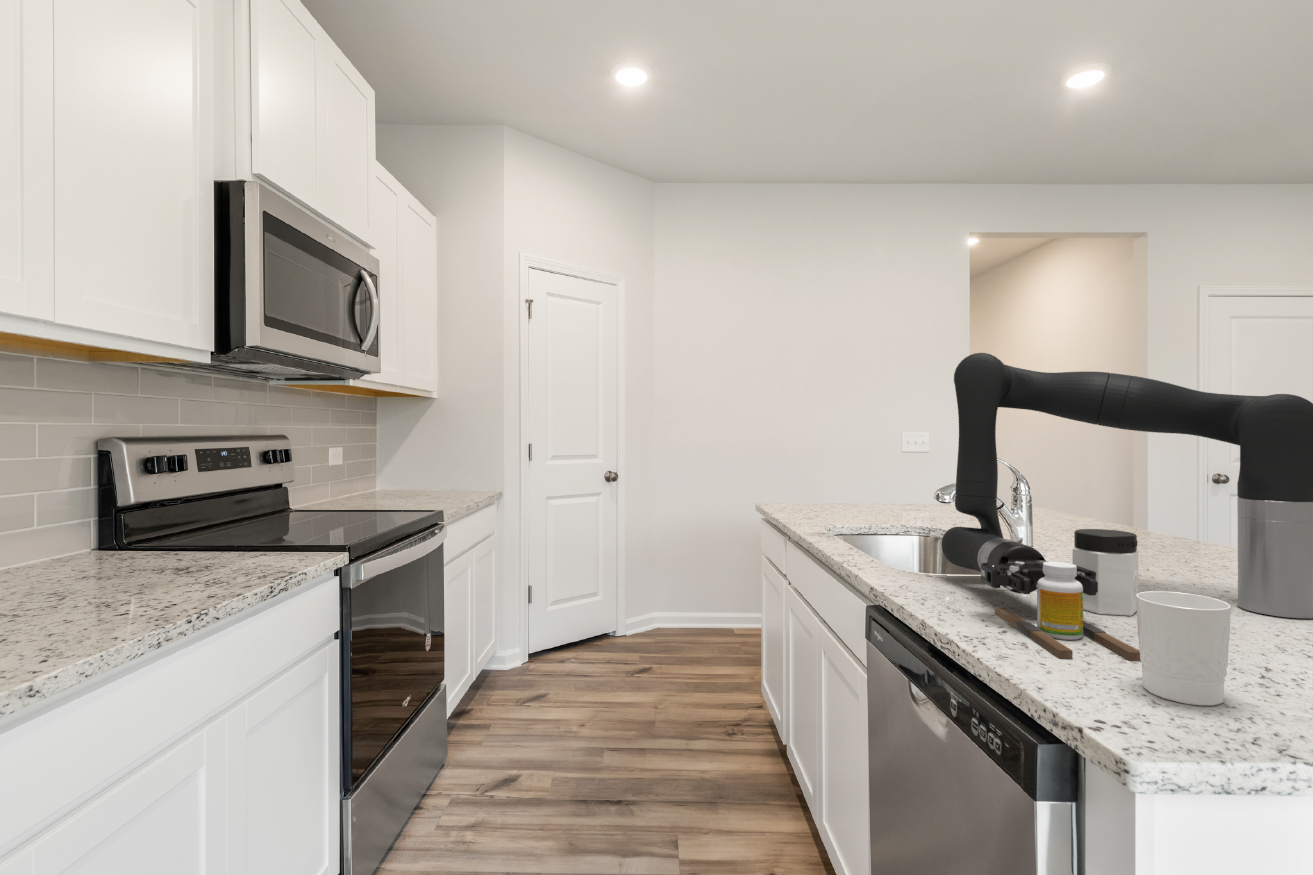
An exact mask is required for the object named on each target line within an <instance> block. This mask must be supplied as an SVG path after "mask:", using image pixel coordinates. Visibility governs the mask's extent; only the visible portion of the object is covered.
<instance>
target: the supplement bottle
mask: <svg viewBox="0 0 1313 875" xmlns="http://www.w3.org/2000/svg"><path fill="white" fill-rule="evenodd" d="M1043 573H1044V574H1045V577H1043V578H1041V579H1039V580H1038V582H1037V590H1036V602H1037V604H1036V605H1037V606H1036V610H1037V611H1036V614H1037V616H1036V617H1037V618H1036V622H1037V623H1036V627H1038V628H1039V629H1041V630H1042V632H1044V633H1046V634H1047V635H1049V636H1050V637H1052V638H1053V639H1055V640H1063V641H1076V640H1081V639H1082V638H1083V637H1084V634H1083V621H1084V610H1083V586H1082V584H1081V583H1080V582H1079V581H1077V580H1075V577H1076V576H1077V575H1076V574H1077V566H1076V565H1074V564H1073V563H1069V562H1061V561H1048V562H1044V563H1043Z"/></svg>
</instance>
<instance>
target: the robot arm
mask: <svg viewBox="0 0 1313 875" xmlns="http://www.w3.org/2000/svg"><path fill="white" fill-rule="evenodd" d="M953 384H954V390H955V396H956V404H957V414H958V447H957V448H958V449H957V450H958V451H957V460H956V461H957V463H956V464H957V465H956V477H955V496H954V505H955V506H954V507H955V510H956V511H957V512H959V513H961V514H965V515H969V516H970V517H971V516H972V517H973V518H976V519H977V521H978V522H979V525H980V528H979V527H969V526H968V527H967V526H966V527H965V526H953V527H951V528H949V529H948V530H946V531H945V532H944V534H943V536H942V539H941V550H942V552H943V555H944V557H945V559H946V560H947V561H948V562H949V563H951V565H952V564H953V565H954V566H957V567H960V568H961V567H962V568H965V569H969V570H974V571H977V572H979V573H980V580H981V581H982V582H984V583H986V584H987V585H988V586H989V587H991V588H994V589H1001V587H1003V588H1005V589H1006V590H1008V591H1009V592H1012V593H1016V594H1022V595H1030V594H1031V593H1033V592H1035V591H1037V582H1038V580H1039V579H1041V578H1043V577H1045V574H1044V573H1043V563H1044V562H1049V561H1047V560H1046V559H1045V557H1044V555H1043V554H1042V553H1041V552H1040V551H1038V550H1037V549H1036V548H1033V547H1032V546H1029V545H1026V544H1024V543H1021V542H1019V541H1015V540H1013V539H1009V538H1004V536H1003V535H1004V534H1003V531H1002V527H1001V523H1000V518H999V514H998V513H999V512H998V507H997V503H998V502H997V501H998V499H997V498H998V485H999V484H998V479H999V478H998V477H999V476H998V474H999V471H998V467H999V466H998V453H997V440H996V429H997V428H996V427H997V414H998V409H999V408H1007V409H1016V410H1017V409H1018V410H1029V411H1035V412H1039V413H1044V414H1047V415H1048V414H1049V415H1051V416H1055V417H1060V418H1063V419H1068V420H1072V421H1076V422H1081V423H1086V424H1091V425H1096V426H1101V427H1108V428H1114V429H1119V430H1120V429H1121V430H1126V431H1127V430H1128V431H1135V432H1144V433H1145V432H1146V433H1147V432H1148V433H1157V434H1158V433H1159V434H1160V433H1161V434H1179V435H1187V436H1188V435H1189V436H1190V435H1191V436H1197V437H1202V438H1207V439H1212V440H1215V441H1219V442H1220V441H1221V442H1223V443H1229V444H1232V445H1236V446H1238V447H1239V470H1238V471H1239V472H1238V479H1237V487H1236V488H1237V489H1236V490H1237V497H1236V498H1237V500H1236V501H1237V606H1238V607H1239V608H1240V609H1243V610H1245V611H1250V612H1253V613H1257V614H1264V615H1269V616H1274V617H1280V618H1290V619H1291V618H1292V619H1313V402H1311V401H1310V400H1308V399H1307V398H1305V397H1302V396H1300V395H1296V394H1289V393H1274V394H1269V395H1244V394H1243V395H1241V394H1231V393H1230V394H1227V393H1217V392H1216V393H1214V392H1207V391H1201V390H1195V389H1191V388H1189V387H1185V386H1181V385H1177V384H1173V383H1169V382H1166V381H1162V380H1158V379H1152V378H1147V377H1142V376H1137V375H1130V374H1129V375H1128V374H1121V373H1114V372H1104V371H1065V372H1061V371H1060V372H1046V371H1045V372H1044V371H1038V370H1031V369H1024V368H1021V367H1015V366H1011V365H1008V364H1005V363H1004V362H1002V360H1001V359H999V358H998V357H997V356H995V355H992V354H990V353H987V352H976V353H975V352H974V353H971V354H969V355H968V356H965V358H963V359H962V360H961V361H960V362H959V363H958V364H957V366H956V368H955V371H954V374H953ZM1076 566H1077V565H1076ZM1076 575H1077V576H1076V577H1075V580H1077V581H1079V582H1080V583H1081V584H1082V586H1083V593H1085V594H1087V595H1091V596H1095V595H1096V592H1098V582H1097V581H1096V572H1094V571H1091V570H1088V569H1085V568H1082V567H1080V566H1077V574H1076Z"/></svg>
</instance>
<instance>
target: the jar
mask: <svg viewBox="0 0 1313 875" xmlns="http://www.w3.org/2000/svg"><path fill="white" fill-rule="evenodd" d="M1073 537H1074V541H1073V542H1074V547H1072V564H1074V565H1077V566H1080V567H1082V568H1085V569H1088V570H1091V571H1094V572H1096V581H1097V582H1098V592H1096V595H1095V596H1091V595H1087V594H1085V593H1083V611H1087V612H1091V613H1094V614H1097V615H1106V616H1107V615H1108V616H1109V615H1110V616H1111V615H1112V616H1124V617H1132V616H1133V615H1134V614H1135V613H1137V605H1136V594H1137V593H1139V550H1138V540H1137V539H1138V536H1137V534H1136V533H1133V532H1129V531H1124V530H1116V529H1106V528H1105V529H1102V528H1081V529H1075V530H1074V533H1073Z"/></svg>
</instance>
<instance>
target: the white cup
mask: <svg viewBox="0 0 1313 875" xmlns="http://www.w3.org/2000/svg"><path fill="white" fill-rule="evenodd" d="M1136 605H1137V611H1136V618H1137V619H1136V620H1137V621H1136V622H1137V636H1138V647H1139V651H1140V660H1141V661H1140V662H1141V673H1142V674H1141V676H1142V687H1143V689H1145V690H1146V691H1147V692H1148V693H1151V694H1152V695H1155V696H1157V697H1159V698H1161V699H1165V700H1169V701H1171V702H1176V703H1178V704H1179V703H1180V704H1187V705H1191V706H1192V705H1193V706H1204V707H1205V706H1207V707H1208V706H1210V707H1212V706H1217V705H1221V704H1223V703H1224V698H1225V697H1224V696H1225V695H1224V694H1225V681H1226V679H1225V678H1226V677H1227V675H1228V670H1227V668H1228V663H1229V651H1230V650H1229V648H1230V647H1229V646H1230V633H1231V631H1230V630H1231V618H1232V617H1231V614H1232V605H1231V604H1230V603H1228V602H1226V601H1224V600H1221V599H1218V598H1214V597H1210V596H1206V595H1200V594H1194V593H1193V594H1192V593H1187V592H1179V591H1169V590H1168V591H1164V590H1150V591H1149V590H1148V591H1140V592H1138V593H1137V594H1136Z"/></svg>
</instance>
